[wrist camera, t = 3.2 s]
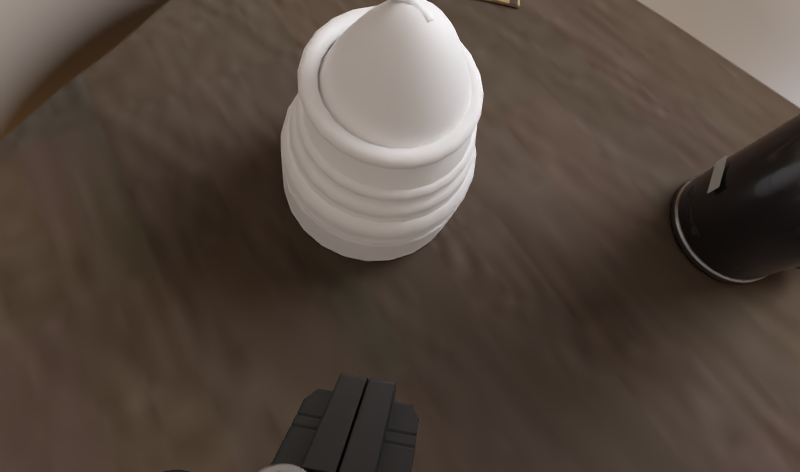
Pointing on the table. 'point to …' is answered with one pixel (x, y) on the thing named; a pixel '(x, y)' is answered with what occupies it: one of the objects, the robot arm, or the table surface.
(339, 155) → the honey pot
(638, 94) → the table surface
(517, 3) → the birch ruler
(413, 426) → the robot arm
